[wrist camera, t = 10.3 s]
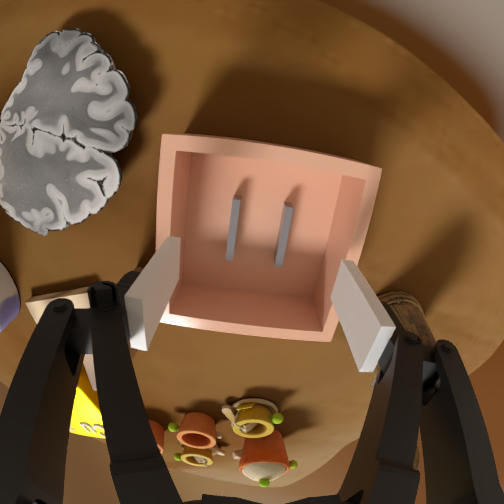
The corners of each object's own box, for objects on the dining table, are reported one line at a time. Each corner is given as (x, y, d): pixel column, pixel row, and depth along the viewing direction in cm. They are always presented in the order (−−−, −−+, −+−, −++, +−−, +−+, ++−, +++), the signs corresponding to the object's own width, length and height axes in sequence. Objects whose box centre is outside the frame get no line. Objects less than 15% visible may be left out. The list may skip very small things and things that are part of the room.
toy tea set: (273, 386, 33) (276, 450, 24) (305, 436, 39) (311, 486, 30) (119, 412, 37) (102, 458, 29) (171, 455, 43) (163, 495, 34)
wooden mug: (319, 375, 32) (346, 510, 16) (372, 282, 27) (460, 431, 10) (377, 380, 33) (417, 494, 16) (432, 298, 28) (517, 414, 11)
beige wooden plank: (97, 283, 28) (89, 292, 26) (113, 317, 29) (106, 327, 28) (33, 295, 29) (25, 302, 27) (48, 323, 31) (41, 331, 29)
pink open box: (184, 133, 21) (162, 133, 16) (353, 159, 22) (382, 168, 17) (174, 284, 27) (157, 321, 21) (317, 302, 28) (330, 342, 22)
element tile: (86, 360, 33) (72, 383, 28) (137, 422, 39) (130, 444, 34) (30, 361, 34) (17, 379, 30) (77, 417, 40) (69, 435, 36)
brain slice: (116, 251, 26) (103, 265, 23) (5, 200, 24) (-11, 207, 21) (182, 50, 19) (173, 40, 16) (45, 33, 16) (29, 28, 14)
